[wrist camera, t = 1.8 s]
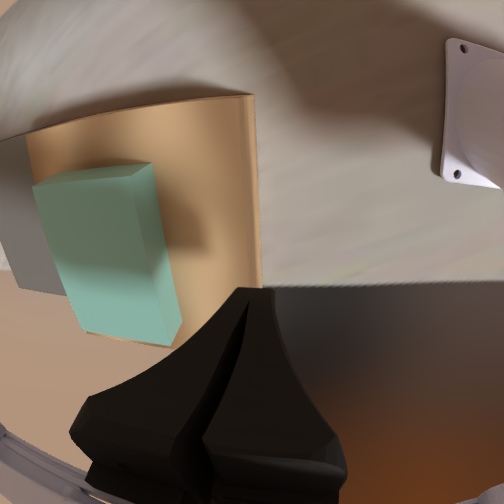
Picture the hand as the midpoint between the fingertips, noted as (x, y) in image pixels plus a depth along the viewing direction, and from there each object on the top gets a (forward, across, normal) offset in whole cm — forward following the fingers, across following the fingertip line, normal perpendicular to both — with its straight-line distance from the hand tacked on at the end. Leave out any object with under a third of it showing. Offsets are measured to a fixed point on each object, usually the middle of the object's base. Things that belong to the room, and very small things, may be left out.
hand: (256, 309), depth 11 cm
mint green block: (+4, +8, 0) cm, 9 cm away
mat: (+8, +19, 0) cm, 20 cm away
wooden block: (+8, +7, 0) cm, 10 cm away
